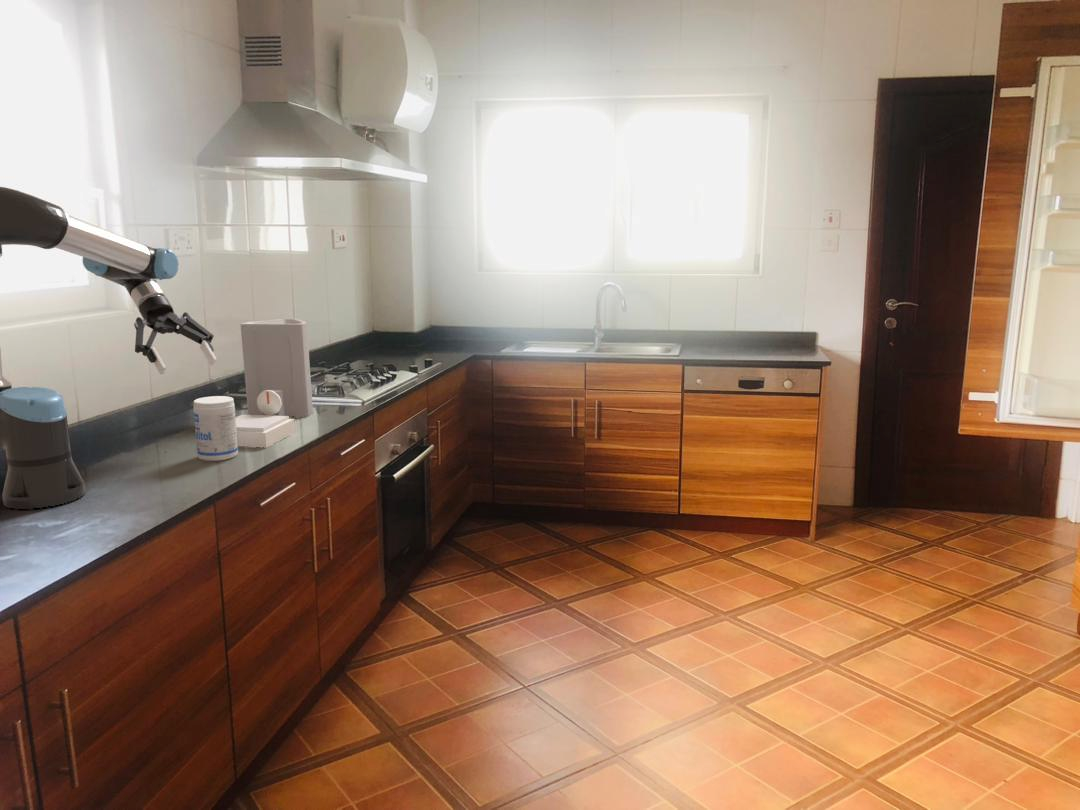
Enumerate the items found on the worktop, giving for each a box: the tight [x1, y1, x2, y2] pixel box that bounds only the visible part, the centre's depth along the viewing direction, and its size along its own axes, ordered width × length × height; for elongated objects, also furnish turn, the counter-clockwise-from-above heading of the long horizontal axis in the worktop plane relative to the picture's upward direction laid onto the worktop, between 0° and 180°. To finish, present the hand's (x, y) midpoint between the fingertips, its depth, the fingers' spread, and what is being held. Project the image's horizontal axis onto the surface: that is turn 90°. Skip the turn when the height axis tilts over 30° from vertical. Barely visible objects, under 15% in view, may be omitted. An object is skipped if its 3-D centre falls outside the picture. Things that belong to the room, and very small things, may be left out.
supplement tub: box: [192, 395, 239, 462], centre depth 207 cm, size 10×10×15 cm
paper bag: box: [239, 318, 314, 418], centre depth 256 cm, size 19×15×28 cm
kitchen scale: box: [235, 390, 296, 449], centre depth 226 cm, size 21×16×12 cm
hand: (189, 366), depth 211 cm, fingers open, 13 cm apart
